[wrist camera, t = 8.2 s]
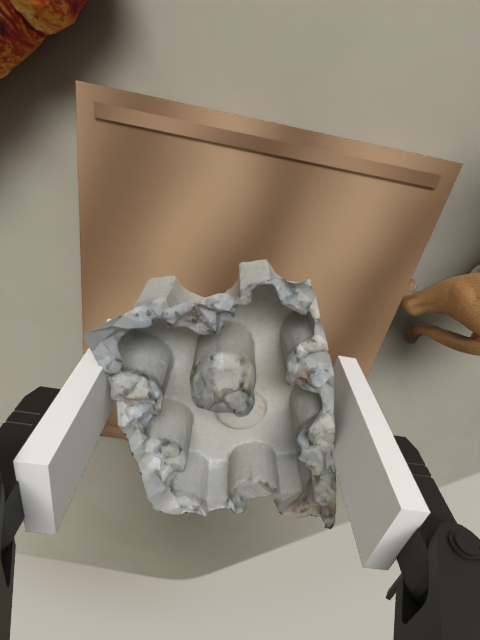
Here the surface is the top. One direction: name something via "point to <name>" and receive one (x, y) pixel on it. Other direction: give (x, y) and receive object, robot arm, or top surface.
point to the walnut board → (247, 212)
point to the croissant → (31, 26)
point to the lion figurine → (447, 310)
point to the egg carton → (225, 394)
